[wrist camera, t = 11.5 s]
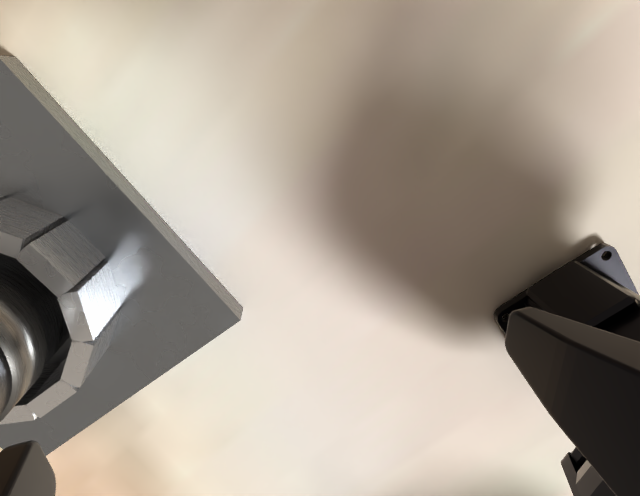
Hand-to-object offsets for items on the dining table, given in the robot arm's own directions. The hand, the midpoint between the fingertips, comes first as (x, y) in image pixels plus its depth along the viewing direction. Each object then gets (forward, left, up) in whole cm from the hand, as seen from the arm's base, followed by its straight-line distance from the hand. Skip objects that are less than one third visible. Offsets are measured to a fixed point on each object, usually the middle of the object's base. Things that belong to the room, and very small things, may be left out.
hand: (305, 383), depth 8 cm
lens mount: (+5, +12, -13) cm, 18 cm away
